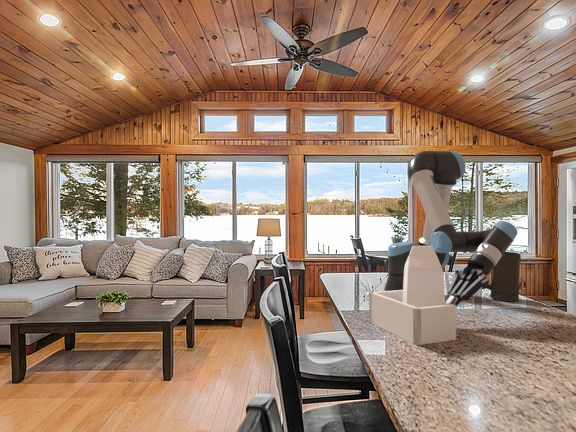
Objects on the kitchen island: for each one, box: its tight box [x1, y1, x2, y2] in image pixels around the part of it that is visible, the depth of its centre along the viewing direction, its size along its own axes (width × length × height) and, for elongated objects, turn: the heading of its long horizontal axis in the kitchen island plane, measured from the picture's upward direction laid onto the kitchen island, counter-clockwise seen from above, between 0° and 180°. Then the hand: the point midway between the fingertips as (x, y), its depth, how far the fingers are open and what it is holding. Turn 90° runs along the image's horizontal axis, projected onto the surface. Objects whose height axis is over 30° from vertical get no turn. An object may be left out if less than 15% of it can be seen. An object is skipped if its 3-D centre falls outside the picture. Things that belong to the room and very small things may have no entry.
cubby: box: [368, 290, 457, 346], centre depth 123 cm, size 25×14×10 cm, turn 19°
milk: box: [403, 246, 446, 307], centre depth 126 cm, size 12×12×26 cm
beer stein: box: [481, 251, 522, 303], centre depth 166 cm, size 15×11×20 cm
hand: (443, 313), depth 127 cm, fingers closed
